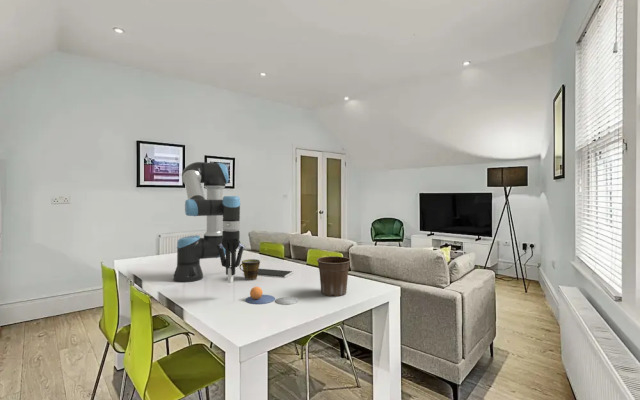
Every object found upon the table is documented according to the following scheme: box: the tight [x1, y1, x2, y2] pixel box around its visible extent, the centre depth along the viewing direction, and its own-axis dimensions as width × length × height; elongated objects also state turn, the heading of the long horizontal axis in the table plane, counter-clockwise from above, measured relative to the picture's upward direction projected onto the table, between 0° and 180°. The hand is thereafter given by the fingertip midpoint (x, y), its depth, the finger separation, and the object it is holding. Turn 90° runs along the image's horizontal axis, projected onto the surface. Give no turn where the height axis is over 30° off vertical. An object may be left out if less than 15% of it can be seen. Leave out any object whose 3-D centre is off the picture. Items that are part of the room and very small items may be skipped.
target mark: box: [245, 294, 276, 305], centre depth 148 cm, size 13×13×1 cm
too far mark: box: [274, 296, 299, 306], centre depth 146 cm, size 10×10×1 cm
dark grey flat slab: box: [257, 268, 295, 279], centre depth 197 cm, size 13×27×2 cm, turn 72°
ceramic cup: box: [239, 258, 261, 281], centre depth 183 cm, size 13×10×10 cm
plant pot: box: [316, 255, 351, 297], centre depth 159 cm, size 16×16×16 cm
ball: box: [249, 286, 264, 299], centre depth 148 cm, size 6×6×6 cm
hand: (230, 281), depth 150 cm, fingers closed
